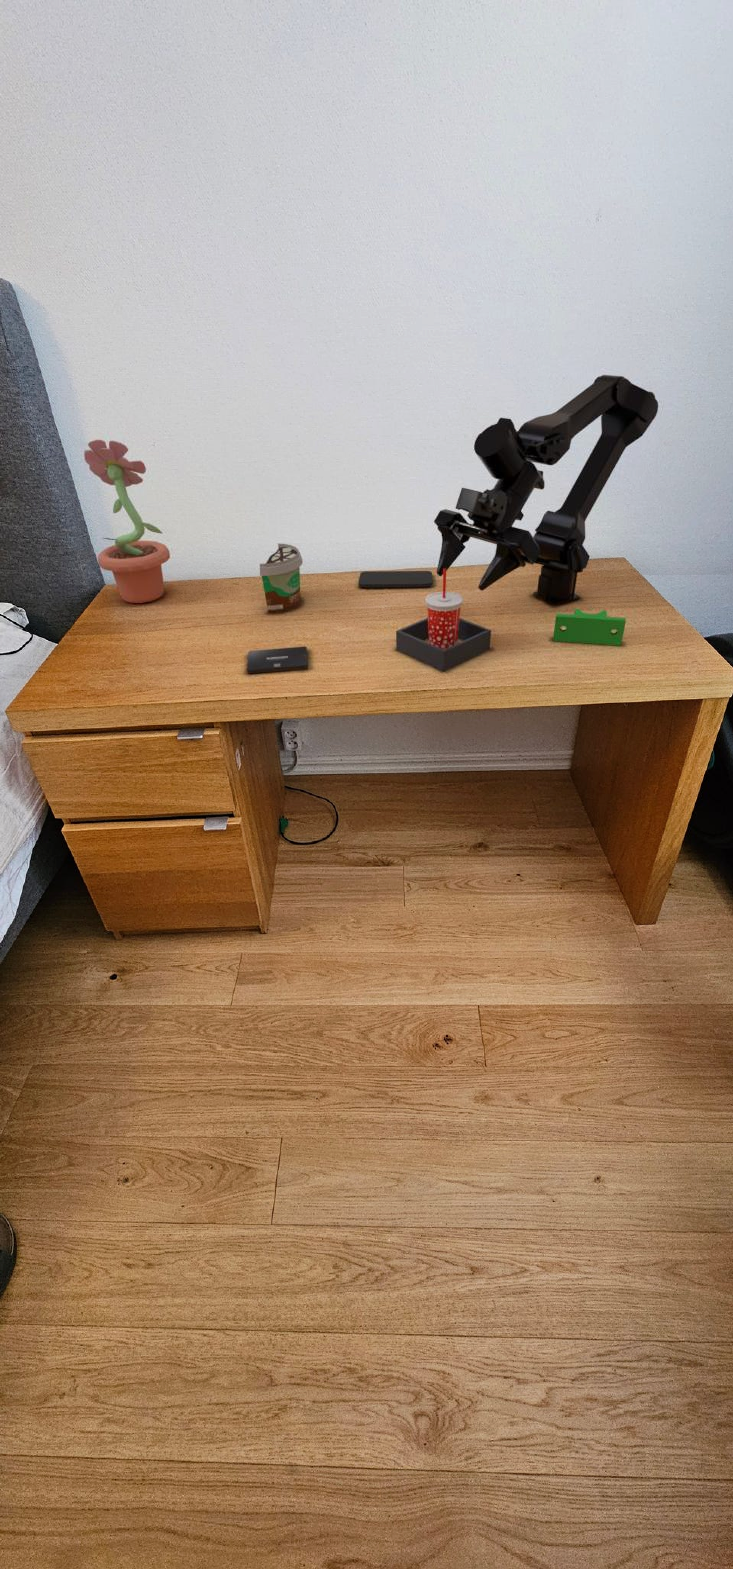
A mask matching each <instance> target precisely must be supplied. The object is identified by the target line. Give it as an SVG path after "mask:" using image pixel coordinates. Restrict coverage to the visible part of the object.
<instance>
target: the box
mask: <svg viewBox="0 0 733 1569" xmlns="http://www.w3.org/2000/svg"><path fill="white" fill-rule="evenodd" d="M395 633H396V634H395V642H396V643H395V644H396V646H395V647H396V651H398V652H400V653H402V654H404V655H407V656H409V657H411V658H413V659H415V660H418V661H420V662H422V663H424V664H426V665H428V666H431V667H433V668H435V669H437V670H439V671H441V672H446V671H447V670H450V669H452V668H454V667H456V666H458V665H460V664H462V663H464V662H466V661H468V660H471V659H473V658H474V657H476V656H479V655H481V654H483V653H485V652H487V651H489V650H491V638H492V630H491V629H489V628H487V627H484V626H482V625H478V624H476V623H474V622H471V621H469V620H466V619H464V618H461V617H460V619H459V629H458V639H459V640H462V641H459V642H457V644H455V645H453V646H451V647H449V648H447V649H444V650H443V649H441V648H439V647H436V646H434V645H432V644H430V643H429V642H428V641H425V640H426V639H429V635H428V618H427V617H426V618H424V619H421V620H419V621H416V622H413V623H411V624H409V625H407V626H405V627H401V628H400V629H397V630H396V631H395Z"/></svg>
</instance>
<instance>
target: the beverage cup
mask: <svg viewBox="0 0 733 1569" xmlns="http://www.w3.org/2000/svg"><path fill="white" fill-rule="evenodd" d="M463 601H464V598H463V596H462V595H460V594H458V593H456V592H451V591H447V571H446V568H443V575H442V591H439V592H438V591H437V592H433V593H430V594H429V595H427V596H425V599H424V602H425V606H426V614H427V617H426V618H428V635H429V638H428V643H430V644H432V645H434V646H436V647H439V648H441V649H443V650H444V649H447V648H449V647H451V646H453V645H455V644H457V643H458V639H459V638H458V629H459V619H460V618H461V609H462V608H461V607H463Z"/></svg>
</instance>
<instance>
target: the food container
mask: <svg viewBox="0 0 733 1569" xmlns="http://www.w3.org/2000/svg"><path fill="white" fill-rule="evenodd" d="M277 548H278V549H277V550H276V551H275V552H274V553H273V554H271V555H270V556H269V557H268V559H267V560H266V562H265V563H259V576H261V580H262V586H263V591H264V597H265V603H266V608H267V613H268V614H280V613H286V612H290V611H293V610H295V609H297V608H298V607H300V605H301V601H302V599H301V598H302V597H301V569H300V568H301V566H302V565H303V563H304V560H303V556H302V555H301V552H300V551H299V549H298V547H296V546H294V545H292V544H288V543H277Z"/></svg>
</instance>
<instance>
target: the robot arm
mask: <svg viewBox="0 0 733 1569" xmlns="http://www.w3.org/2000/svg"><path fill="white" fill-rule="evenodd" d="M658 412H659V402H658V400H657V398H656V395H655V393H654V392H652V391H648V390H646V389H645V388H642V387H640V386H638V385H636V384H634V383H632V382H631V381H630V380H629V379H628V378H626V377H625V376H622V375H610V374H602V375H599V376H597V377H596V378H595V379H594V382H593V383H592V384H590V385H589V386H587V387H586V388H585V389H584V390H583V391H582V392H580V393H579V394H577V395H576V396H574V397H573V398H572V399H571V400H569V401H568V402H567V403H565V404H564V405H563V406H561V407H560V408H559V409H558V410H556V411H555V412H553V413H549V414H545V415H540V416H537V417H535V418H532V419H530V420H528V421H526V422H524V423H523V424H522V425H521V426H520V427H519V428H518V430H517V429H516V427H515V424H514V422H513V421H512V419H511V418H507V417H499V418H498V421H497V422H496V423H494V424H491V425H489V426H487V427H486V428H485V429H484V430H483V431H482V432H480V433H478V435H477V436H476V439H475V440H474V444H473V450H474V453H475V454H476V456H477V457H478V459H479V460H480V462H481V463H482V464H483V466H484V467H485V469H486V470H487V472H488V474H490V476H491V477H492V478H493V479H495V480H497V481H496V483H495V484H494V486H493V488H491V489H488V488H487V489H485V490H484V491H483V492H482V491H480V490H474V489H470V488H466V487H461V489H460V492H459V496H458V498H457V502H456V504H455V510H459V511H460V510H462V511H464V512H467V515H466V517H467V518H468V519H469V520H470V521H472V522H473V523H469V522H468V521H467V520H466V518H465V517H464V516H463V515H462V513H461V512H458V511H454V510H450V509H447V508H445V509H441V510H439V512H438V513H437V515H436V517H435V519H434V521H433V523H434V525H436V527H437V530H438V531H439V533H440V535H441V541H442V542H441V549H440V552H439V553H440V554H439V557H438V564H437V568H436V574H437V576H439V577H443V568H446V572H447V571H448V570H449V568H450V567H451V566H452V565H453V563H454V562H456V560H457V559H458V557H459V556H460V555H461V554H462V552H463V551H464V550H465V549H466V545H465V543H467V542H469V540H470V539H471V538H472V539H476V540H480V541H483V542H486V543H490V544H494V545H496V548H495V554H494V556H493V558H492V560H491V561H490V563H489V565H488V567H487V569H486V570H485V572H484V574H483V575H482V577H481V579H480V582H479V584H478V586H477V588H478V589H479V590H480V591H482V592H483V591H485V590H486V589H487V588H489V587H490V586H492V585H493V584H495V583H496V582H497V581H499V580H501V579H502V578H503V577H505V576H506V575H508V574H510V573H511V572H514V571H515V570H517V569H518V568H521V567H522V568H525V567H526V566H527V564H528V565H533V566H534V564H536V565H541V567H540V574H539V575H538V583H537V588H536V589H537V590H536V591H534V592H532V596H533V597H535V598H537V599H539V600H542V601H543V602H545V603H547V604H549V605H551V606H558V605H562V604H567V603H569V602H573V601H577V600H580V598H581V595H579V594H577V593H575V592H576V587H577V586H576V585H577V580H578V579H577V578H578V574H579V573H583V571H584V569H586V568H587V566H588V564H589V560H590V555H589V553H588V551H587V550H586V548H585V546H584V545H583V544H584V542H585V540H586V520H587V518H588V516H589V515H590V513H591V511H592V509H593V507H594V506H595V504H596V502H597V500H598V499H599V497H600V494H602V491H603V489H604V488H605V486H606V484H607V482H608V480H609V478H610V477H611V475H612V473H613V472H614V469H615V468H616V466H617V464H618V462H619V460H620V459H621V457H622V455H623V453H624V452H625V450H626V448H627V447H629V446H630V445H631V444H633V443H634V442H636V441H637V440H638V439H640V438H641V437H643V435H645V433H646V432H647V430H648V428H649V427H650V426H651V424H652V422H653V421H654V420H655V418H656V416H657V415H658ZM599 417H600V425H601V426H600V429H601V430H600V431H601V433H600V435H599V438H598V439H597V441H596V442H595V445H594V447H593V448H592V450H591V452H590V454H589V456H588V457H587V459H586V461H585V463H584V465H583V467H582V469H581V471H580V472H579V473H578V476H577V478H576V480H575V481H574V483H573V485H572V487H571V489H570V490H569V492H568V494H567V496H566V498H565V500H564V501H563V503H562V505H561V507H560V508H558V509H557V510H556V511H553V510H552V511H551V510H547V511H545V513H544V514H543V515H542V518H541V521H540V523H539V524H538V525H537V526H536V527H535V529H534V531H535V532H534V534H533V535H532V533H531V532H530V530H526V529H523V528H520V527H515V526H513V525H514V524H515V522H516V521H522V520H523V518H524V516H525V515H524V513H523V511H522V510H523V509H524V506H525V505H526V503H527V502H528V500H529V498H530V496H531V494H532V493H533V491H534V490H535V489H536V490H537V489H538V490H544V489H545V479H544V471H543V470H539V469H538V468H537V466H536V465H535V463H536V464H540V465H546V466H554V465H556V464H557V463H558V462H559V461H560V460H561V459H562V458H563V457H564V456H565V454H567V453H568V452H569V450H570V449H571V443H572V440H573V439H574V437H575V436H577V435H578V434H579V433H580V432H582V431H583V430H584V429H585V428H587V427H588V426H590V425H591V424H592V423H593V422H594V421H596V420H597V419H599Z"/></svg>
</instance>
